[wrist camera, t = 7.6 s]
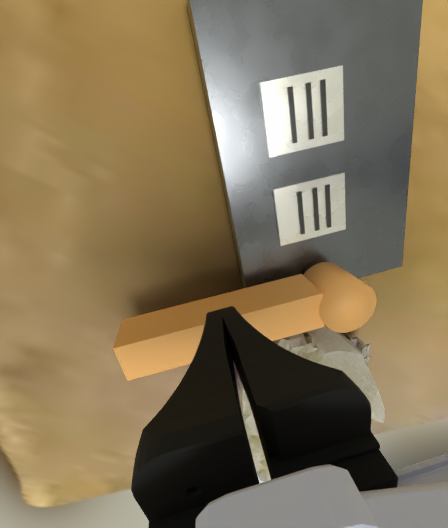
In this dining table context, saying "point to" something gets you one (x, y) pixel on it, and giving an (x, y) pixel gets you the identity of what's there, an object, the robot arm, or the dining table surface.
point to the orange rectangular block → (246, 317)
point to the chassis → (311, 128)
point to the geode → (326, 353)
